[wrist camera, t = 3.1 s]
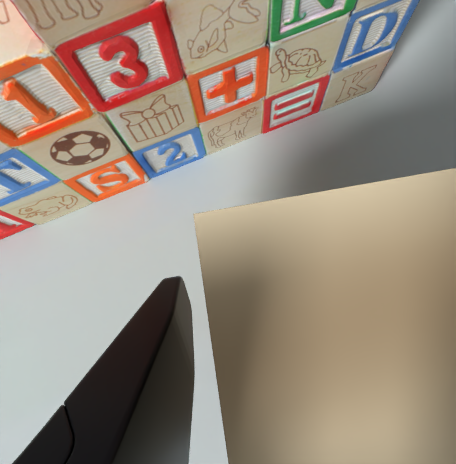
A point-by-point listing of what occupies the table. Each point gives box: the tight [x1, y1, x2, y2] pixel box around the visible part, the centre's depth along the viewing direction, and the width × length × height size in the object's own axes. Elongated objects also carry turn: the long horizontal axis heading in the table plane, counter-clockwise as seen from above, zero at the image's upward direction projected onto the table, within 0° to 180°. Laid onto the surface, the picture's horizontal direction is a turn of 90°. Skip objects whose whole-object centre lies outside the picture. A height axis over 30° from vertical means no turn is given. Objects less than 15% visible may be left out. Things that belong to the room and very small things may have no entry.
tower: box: [193, 168, 456, 464], centre depth 10 cm, size 4×4×11 cm
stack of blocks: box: [0, 0, 420, 240], centre depth 12 cm, size 21×6×12 cm, turn 112°
